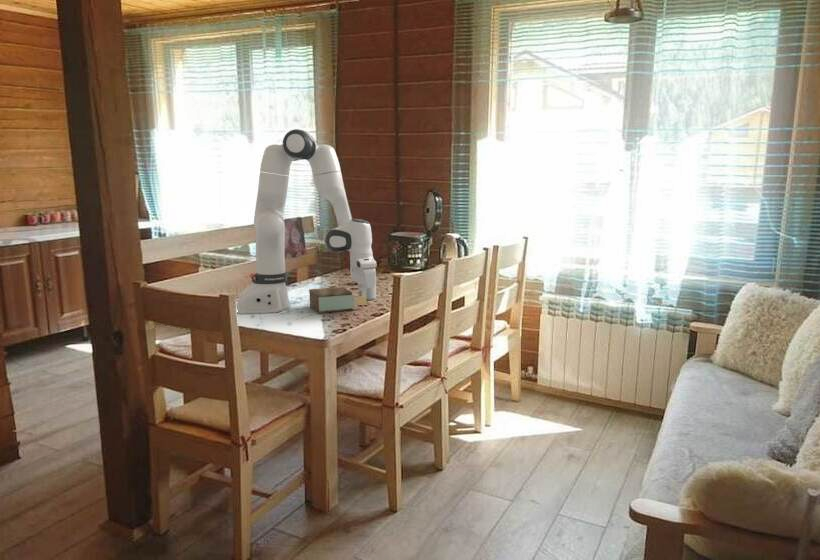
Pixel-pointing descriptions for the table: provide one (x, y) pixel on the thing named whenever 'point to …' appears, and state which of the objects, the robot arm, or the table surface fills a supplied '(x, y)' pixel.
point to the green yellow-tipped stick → (340, 302)
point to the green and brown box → (326, 293)
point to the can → (370, 293)
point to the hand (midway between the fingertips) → (362, 295)
